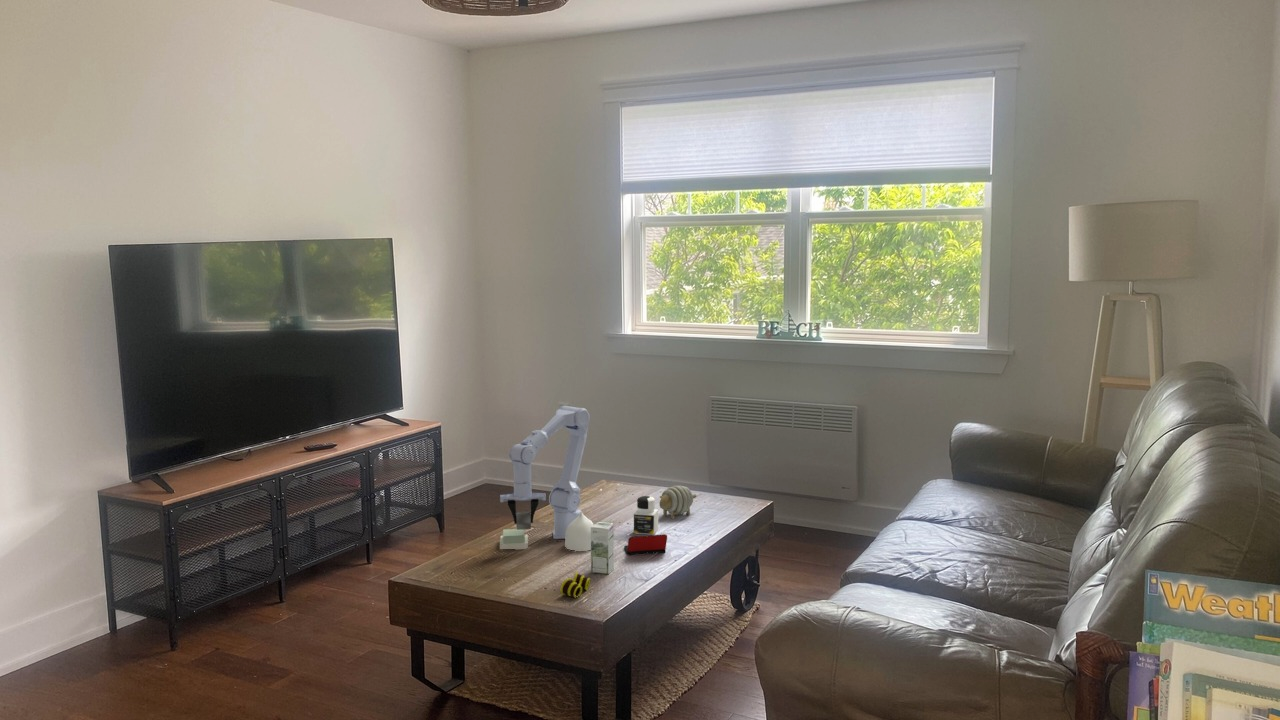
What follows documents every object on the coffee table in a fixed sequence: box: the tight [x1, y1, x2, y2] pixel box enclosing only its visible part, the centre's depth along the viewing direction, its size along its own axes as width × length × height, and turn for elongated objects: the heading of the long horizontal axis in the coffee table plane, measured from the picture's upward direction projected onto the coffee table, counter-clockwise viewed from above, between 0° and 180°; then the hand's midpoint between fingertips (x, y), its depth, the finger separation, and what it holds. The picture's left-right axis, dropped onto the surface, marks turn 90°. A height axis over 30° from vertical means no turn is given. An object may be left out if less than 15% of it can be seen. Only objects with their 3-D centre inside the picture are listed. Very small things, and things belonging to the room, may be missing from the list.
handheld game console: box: [623, 533, 668, 556], centre depth 286 cm, size 12×11×7 cm
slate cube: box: [516, 510, 532, 530], centre depth 288 cm, size 4×4×4 cm
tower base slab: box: [499, 534, 529, 550], centre depth 294 cm, size 9×9×2 cm
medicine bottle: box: [633, 495, 659, 535], centre depth 308 cm, size 7×7×12 cm
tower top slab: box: [502, 528, 526, 544], centre depth 294 cm, size 7×7×2 cm
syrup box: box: [590, 521, 615, 575], centre depth 269 cm, size 6×6×14 cm
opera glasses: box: [559, 571, 591, 599], centre depth 253 cm, size 10×5×5 cm, turn 158°
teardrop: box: [564, 510, 594, 552], centre depth 292 cm, size 11×11×12 cm
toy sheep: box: [658, 485, 697, 519], centre depth 326 cm, size 11×17×11 cm, turn 133°
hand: (523, 522), depth 289 cm, fingers closed on slate cube, 4 cm apart
